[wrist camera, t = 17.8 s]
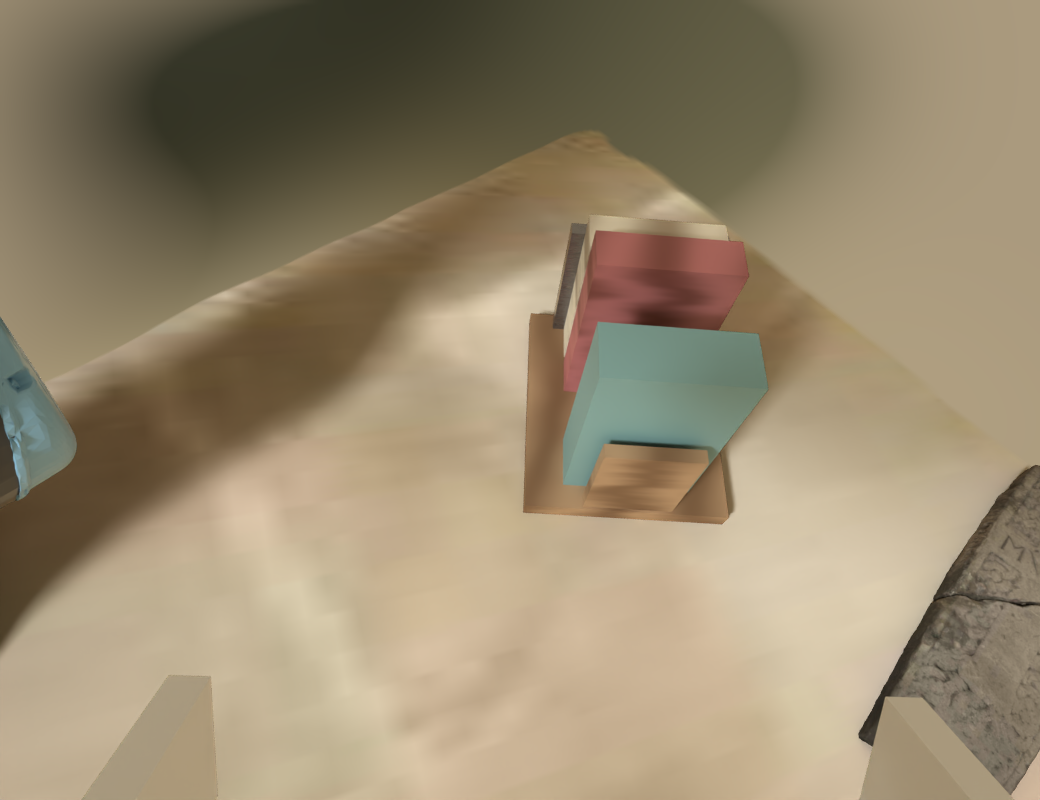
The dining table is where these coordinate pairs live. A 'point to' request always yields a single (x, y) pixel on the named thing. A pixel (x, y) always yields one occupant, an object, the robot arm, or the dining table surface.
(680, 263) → the book rack
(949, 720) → the stone slab
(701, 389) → the book
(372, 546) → the dining table surface
